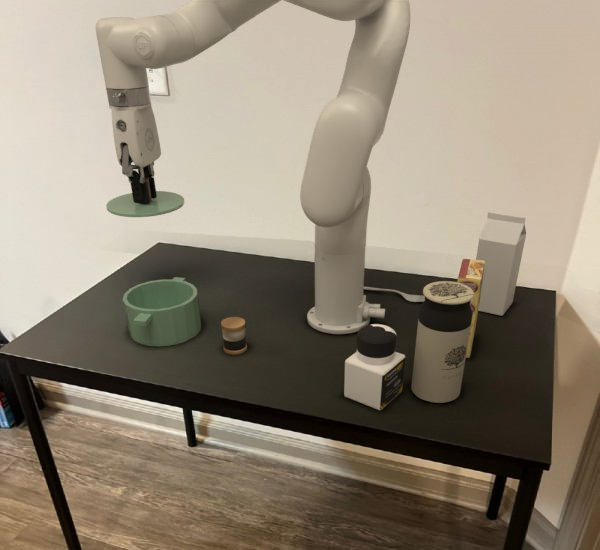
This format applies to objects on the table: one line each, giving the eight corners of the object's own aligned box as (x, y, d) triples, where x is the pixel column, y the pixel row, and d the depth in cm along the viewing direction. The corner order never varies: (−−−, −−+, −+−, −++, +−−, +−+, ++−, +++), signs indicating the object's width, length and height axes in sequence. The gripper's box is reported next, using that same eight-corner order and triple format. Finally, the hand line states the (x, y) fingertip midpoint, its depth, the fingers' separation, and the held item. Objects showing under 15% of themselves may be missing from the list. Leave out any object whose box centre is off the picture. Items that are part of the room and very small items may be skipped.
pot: (215, 310, 127) (211, 276, 122) (180, 357, 111) (175, 320, 107) (153, 304, 129) (147, 271, 125) (110, 349, 114) (102, 313, 109)
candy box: (470, 359, 109) (483, 279, 100) (446, 356, 110) (457, 277, 101) (474, 336, 116) (486, 259, 107) (451, 333, 117) (462, 257, 108)
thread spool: (250, 344, 115) (248, 317, 111) (243, 356, 111) (241, 329, 108) (227, 342, 115) (225, 315, 112) (220, 353, 112) (217, 326, 109)
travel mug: (403, 381, 103) (413, 283, 93) (447, 374, 105) (461, 277, 94) (422, 407, 97) (434, 305, 86) (468, 400, 98) (485, 298, 88)
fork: (337, 281, 137) (337, 274, 136) (442, 301, 128) (443, 293, 127) (331, 286, 135) (331, 279, 134) (437, 307, 126) (438, 299, 125)
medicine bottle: (380, 412, 96) (385, 346, 89) (343, 397, 100) (344, 332, 93) (402, 391, 101) (408, 327, 94) (366, 377, 104) (369, 315, 97)
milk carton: (502, 316, 122) (520, 223, 111) (468, 309, 125) (482, 217, 114) (512, 303, 127) (530, 213, 116) (479, 296, 130) (493, 207, 119)
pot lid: (195, 198, 126) (192, 169, 122) (167, 222, 114) (163, 191, 110) (127, 195, 128) (122, 166, 125) (93, 218, 116) (86, 187, 113)
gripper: (129, 106, 102) (146, 214, 113) (165, 91, 115) (178, 189, 126) (88, 105, 104) (109, 212, 114) (129, 90, 117) (144, 188, 127)
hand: (145, 199), depth 120 cm, fingers closed on pot lid, 2 cm apart
